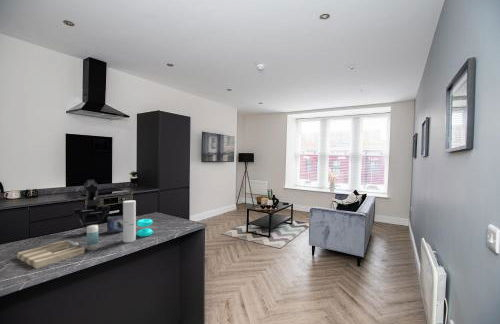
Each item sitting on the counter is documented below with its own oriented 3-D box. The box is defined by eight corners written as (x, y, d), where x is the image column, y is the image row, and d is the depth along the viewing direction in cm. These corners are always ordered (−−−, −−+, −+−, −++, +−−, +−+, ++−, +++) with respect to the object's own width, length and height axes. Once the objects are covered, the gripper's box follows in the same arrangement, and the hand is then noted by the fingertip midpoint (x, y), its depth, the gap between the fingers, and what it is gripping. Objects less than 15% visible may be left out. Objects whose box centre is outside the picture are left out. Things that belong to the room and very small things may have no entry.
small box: (106, 234, 164) (106, 218, 164) (107, 231, 170) (107, 216, 170) (124, 232, 169) (124, 217, 169) (124, 229, 175) (124, 215, 175)
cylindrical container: (126, 238, 156) (126, 200, 155) (137, 238, 157) (137, 200, 156) (121, 242, 149) (121, 202, 148) (133, 242, 150) (133, 202, 149)
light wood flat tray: (17, 258, 125) (17, 252, 125) (64, 245, 143) (64, 240, 143) (36, 268, 114) (36, 262, 114) (84, 253, 132) (84, 247, 132)
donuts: (155, 219, 166) (143, 223, 157) (155, 233, 166) (143, 238, 157) (145, 217, 170) (133, 221, 161) (145, 231, 171) (133, 235, 162)
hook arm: (64, 242, 140) (64, 239, 140) (67, 241, 141) (67, 239, 141) (77, 247, 133) (77, 244, 133) (80, 246, 134) (80, 243, 134)
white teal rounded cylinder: (84, 249, 138) (84, 226, 138) (95, 245, 143) (94, 224, 143) (90, 251, 135) (90, 228, 135) (100, 247, 140) (100, 225, 140)
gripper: (73, 195, 143) (72, 218, 135) (109, 193, 154) (110, 214, 145) (74, 206, 150) (73, 228, 141) (108, 203, 161) (109, 223, 152)
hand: (92, 223), depth 145 cm, fingers open, 9 cm apart
